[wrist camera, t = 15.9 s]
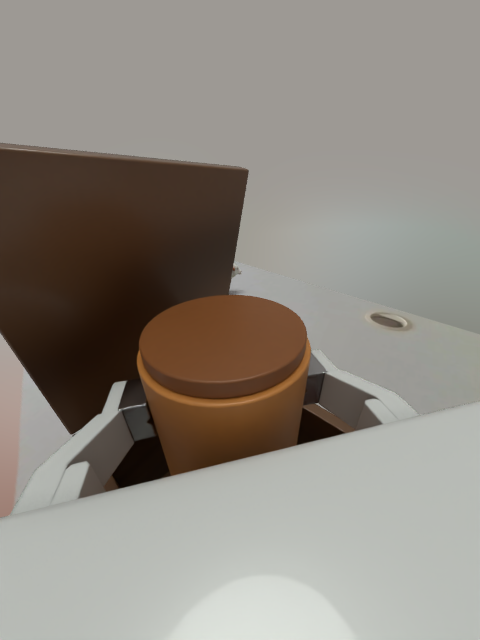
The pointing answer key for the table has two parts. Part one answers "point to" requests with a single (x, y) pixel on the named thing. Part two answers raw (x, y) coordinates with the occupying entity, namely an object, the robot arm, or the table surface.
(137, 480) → the brown wooden box
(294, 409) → the brown lidded canister
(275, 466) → the robot arm
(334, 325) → the table surface
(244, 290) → the table surface
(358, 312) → the table surface
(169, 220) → the lid
